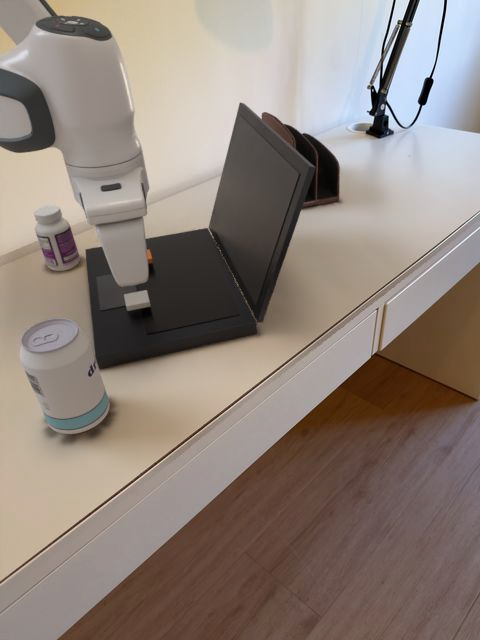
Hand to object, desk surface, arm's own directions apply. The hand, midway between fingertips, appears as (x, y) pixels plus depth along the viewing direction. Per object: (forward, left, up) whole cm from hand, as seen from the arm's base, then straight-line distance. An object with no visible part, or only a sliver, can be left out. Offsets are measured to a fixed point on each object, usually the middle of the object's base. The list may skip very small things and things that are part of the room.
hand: (133, 280), depth 71 cm
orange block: (+2, +12, -5) cm, 13 cm away
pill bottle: (-11, +21, -7) cm, 25 cm away
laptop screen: (+18, +6, +5) cm, 20 cm away
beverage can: (-9, -17, -7) cm, 20 cm away
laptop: (+4, +6, -7) cm, 10 cm away
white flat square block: (0, 0, -5) cm, 5 cm away
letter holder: (+37, +36, -7) cm, 52 cm away
